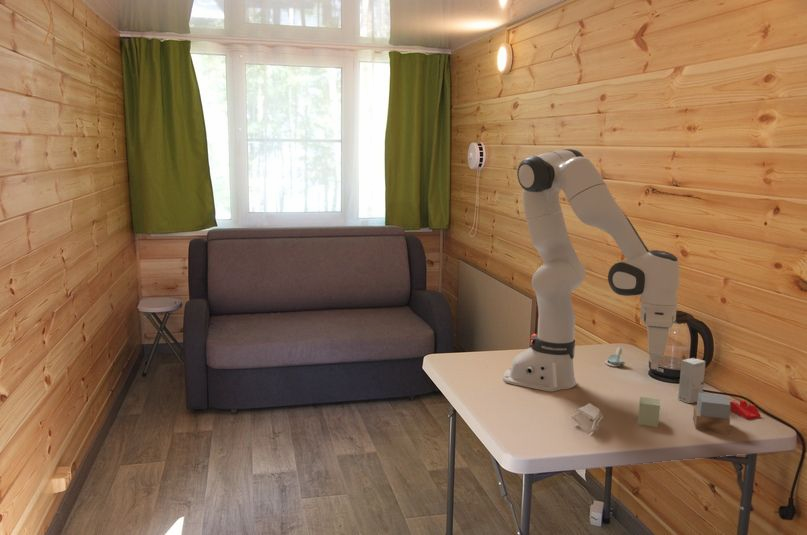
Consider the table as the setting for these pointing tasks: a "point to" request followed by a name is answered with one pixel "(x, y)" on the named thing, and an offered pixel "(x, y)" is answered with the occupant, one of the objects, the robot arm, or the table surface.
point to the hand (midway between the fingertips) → (653, 363)
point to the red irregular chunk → (744, 410)
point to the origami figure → (588, 414)
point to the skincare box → (691, 379)
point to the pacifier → (615, 358)
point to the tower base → (710, 423)
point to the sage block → (649, 411)
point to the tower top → (713, 405)
